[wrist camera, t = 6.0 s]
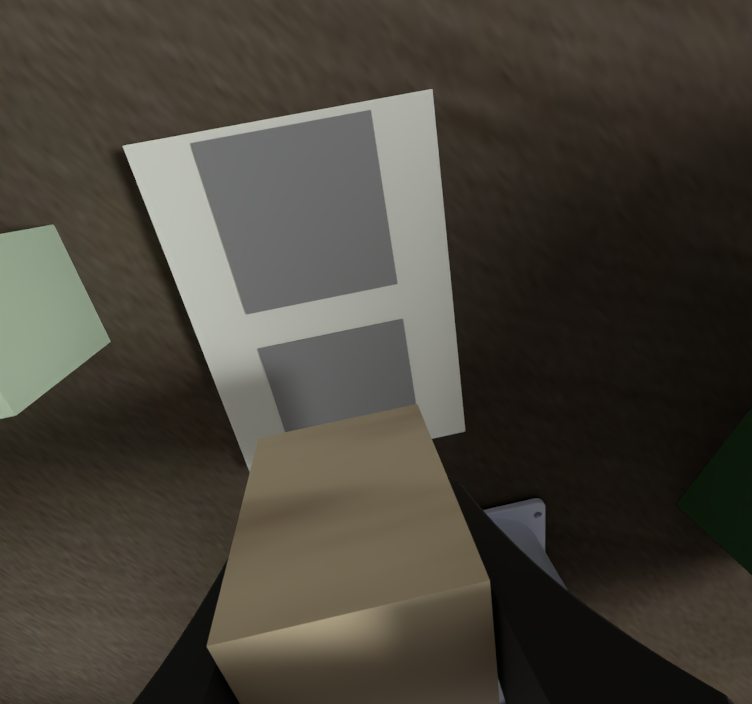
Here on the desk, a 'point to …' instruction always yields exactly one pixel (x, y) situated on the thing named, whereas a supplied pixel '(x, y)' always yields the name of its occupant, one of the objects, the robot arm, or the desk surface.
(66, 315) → the sage post
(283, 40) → the desk surface
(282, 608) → the wooden toy cube
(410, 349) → the board
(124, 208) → the desk surface
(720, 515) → the binder
